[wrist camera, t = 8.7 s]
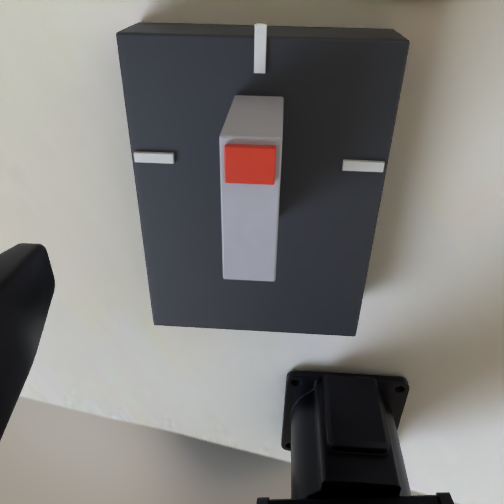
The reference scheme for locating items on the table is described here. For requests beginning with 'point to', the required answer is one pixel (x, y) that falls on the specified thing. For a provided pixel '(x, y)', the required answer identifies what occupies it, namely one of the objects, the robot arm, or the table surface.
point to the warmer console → (292, 165)
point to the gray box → (251, 186)
